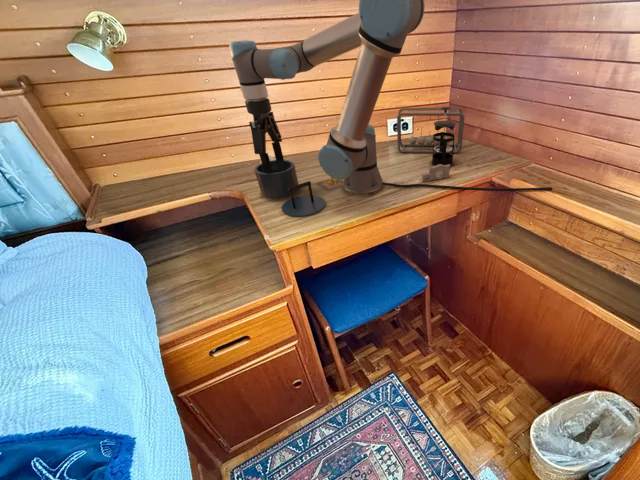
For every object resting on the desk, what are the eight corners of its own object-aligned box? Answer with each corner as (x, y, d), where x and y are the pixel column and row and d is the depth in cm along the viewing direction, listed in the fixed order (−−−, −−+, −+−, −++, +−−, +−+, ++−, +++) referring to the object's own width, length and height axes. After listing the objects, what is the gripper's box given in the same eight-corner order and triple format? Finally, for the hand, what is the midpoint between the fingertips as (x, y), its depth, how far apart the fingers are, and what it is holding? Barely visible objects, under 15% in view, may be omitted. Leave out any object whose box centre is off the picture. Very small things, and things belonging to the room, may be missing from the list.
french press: (454, 167, 142) (459, 110, 127) (432, 168, 142) (434, 110, 128) (451, 158, 151) (455, 103, 137) (430, 158, 151) (432, 103, 137)
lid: (333, 208, 115) (330, 184, 109) (294, 223, 107) (288, 198, 102) (313, 194, 124) (308, 171, 118) (275, 207, 116) (268, 183, 111)
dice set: (333, 180, 134) (333, 175, 133) (340, 183, 131) (340, 179, 130) (322, 183, 131) (322, 179, 130) (329, 187, 128) (329, 183, 127)
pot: (306, 192, 125) (300, 166, 119) (270, 204, 118) (263, 177, 112) (290, 181, 134) (284, 156, 127) (256, 191, 127) (248, 166, 120)
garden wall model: (422, 182, 131) (423, 167, 127) (420, 180, 132) (421, 166, 128) (449, 177, 134) (450, 163, 130) (447, 176, 135) (448, 161, 131)
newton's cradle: (397, 153, 157) (396, 113, 146) (399, 145, 165) (398, 107, 154) (461, 153, 155) (464, 113, 144) (459, 146, 163) (462, 107, 152)
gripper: (260, 91, 115) (276, 154, 129) (228, 107, 97) (250, 178, 111) (280, 91, 114) (295, 154, 128) (252, 107, 97) (272, 178, 110)
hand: (274, 165), depth 120 cm, fingers open, 10 cm apart
